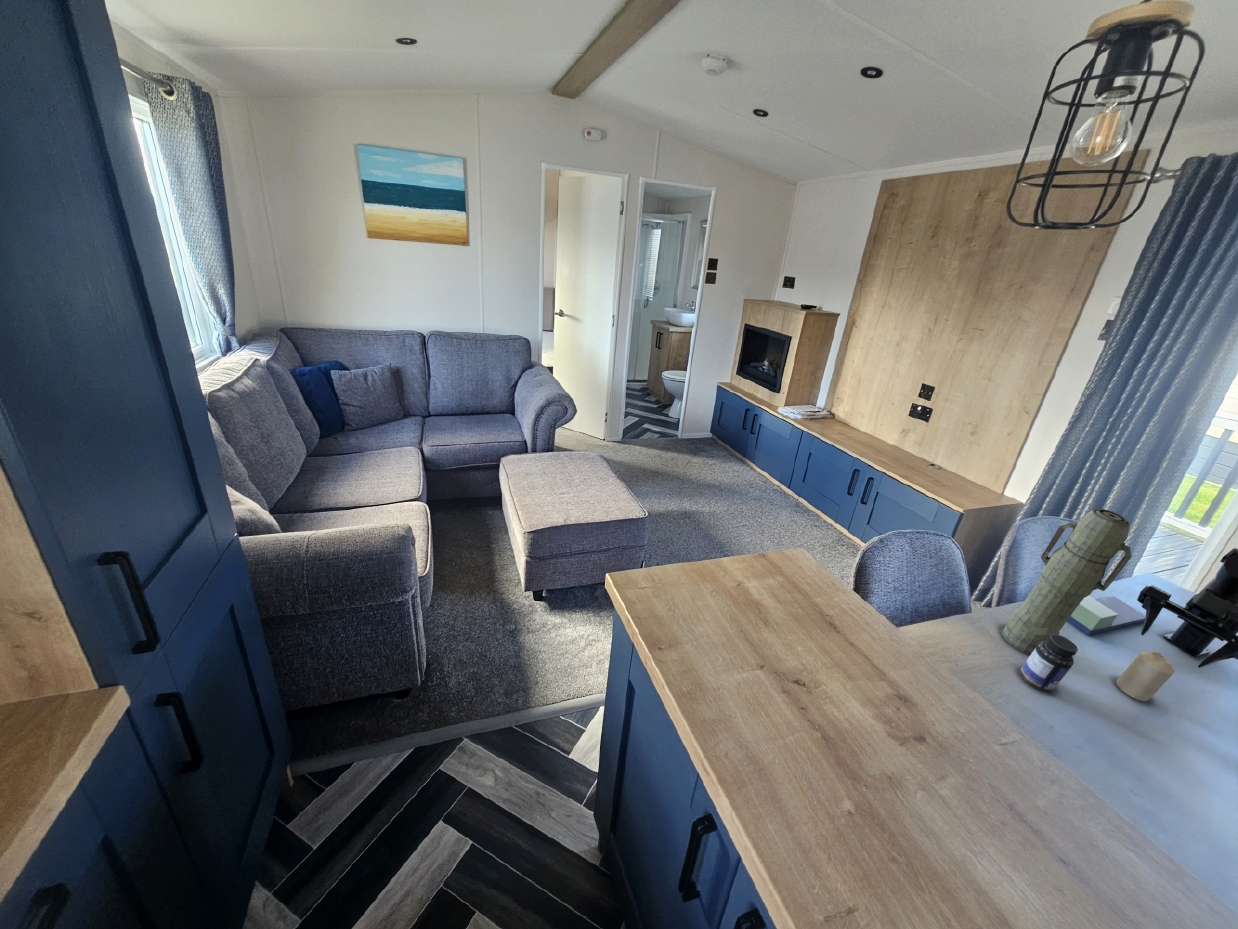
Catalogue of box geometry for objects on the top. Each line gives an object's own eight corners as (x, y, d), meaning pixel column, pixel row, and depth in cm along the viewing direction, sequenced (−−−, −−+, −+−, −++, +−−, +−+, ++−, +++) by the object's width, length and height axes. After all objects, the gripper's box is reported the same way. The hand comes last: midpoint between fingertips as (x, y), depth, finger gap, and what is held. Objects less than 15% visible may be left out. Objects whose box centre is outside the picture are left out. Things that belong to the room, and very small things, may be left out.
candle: (1155, 704, 107) (1186, 671, 102) (1126, 697, 107) (1156, 664, 103) (1137, 683, 112) (1166, 651, 107) (1109, 676, 112) (1137, 643, 108)
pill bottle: (1046, 675, 110) (1075, 638, 105) (1058, 697, 104) (1088, 659, 99) (1014, 664, 111) (1041, 627, 106) (1024, 685, 106) (1052, 647, 101)
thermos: (998, 617, 125) (1078, 495, 109) (1055, 648, 118) (1150, 522, 102) (989, 634, 119) (1073, 507, 103) (1050, 667, 112) (1150, 537, 96)
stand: (1110, 600, 139) (1123, 584, 136) (1145, 622, 132) (1158, 606, 130) (1054, 611, 131) (1066, 595, 128) (1087, 635, 124) (1101, 618, 122)
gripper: (1172, 554, 108) (1121, 605, 108) (1302, 614, 95) (1243, 674, 94) (1161, 575, 116) (1113, 623, 115) (1280, 634, 102) (1226, 689, 102)
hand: (1169, 650), depth 106 cm, fingers open, 9 cm apart
